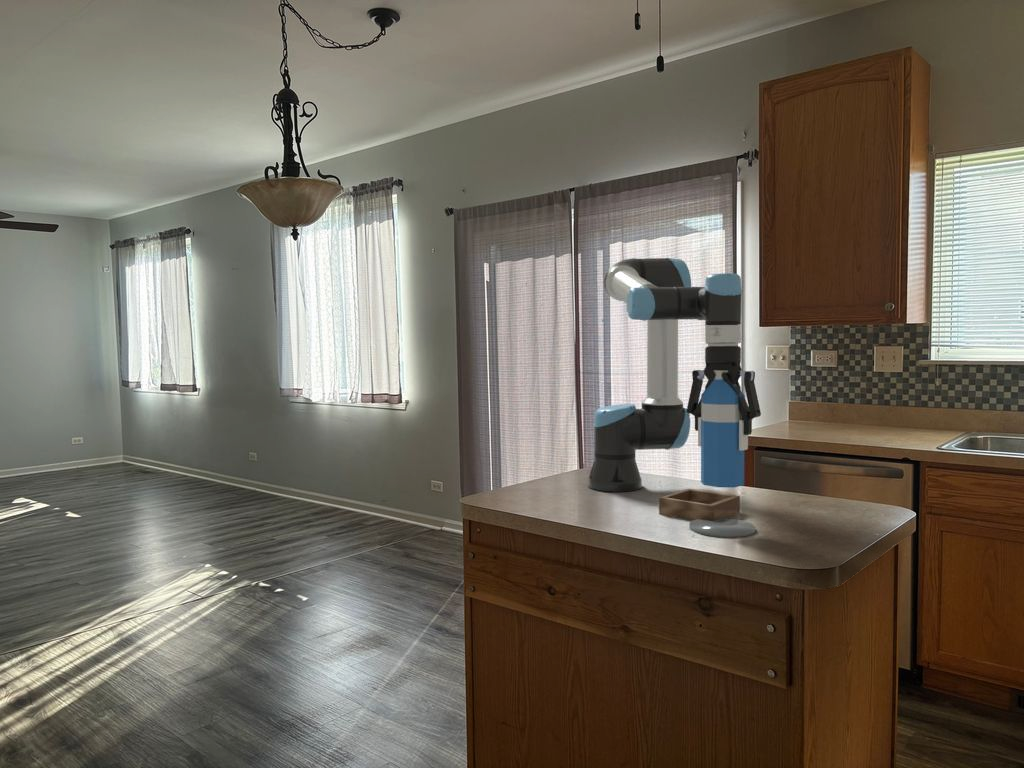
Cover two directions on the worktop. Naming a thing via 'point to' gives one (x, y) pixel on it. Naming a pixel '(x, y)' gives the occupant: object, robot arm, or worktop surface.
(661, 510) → the square wooden frame
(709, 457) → the water bottle
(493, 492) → the worktop surface
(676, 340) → the robot arm
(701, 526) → the coaster
